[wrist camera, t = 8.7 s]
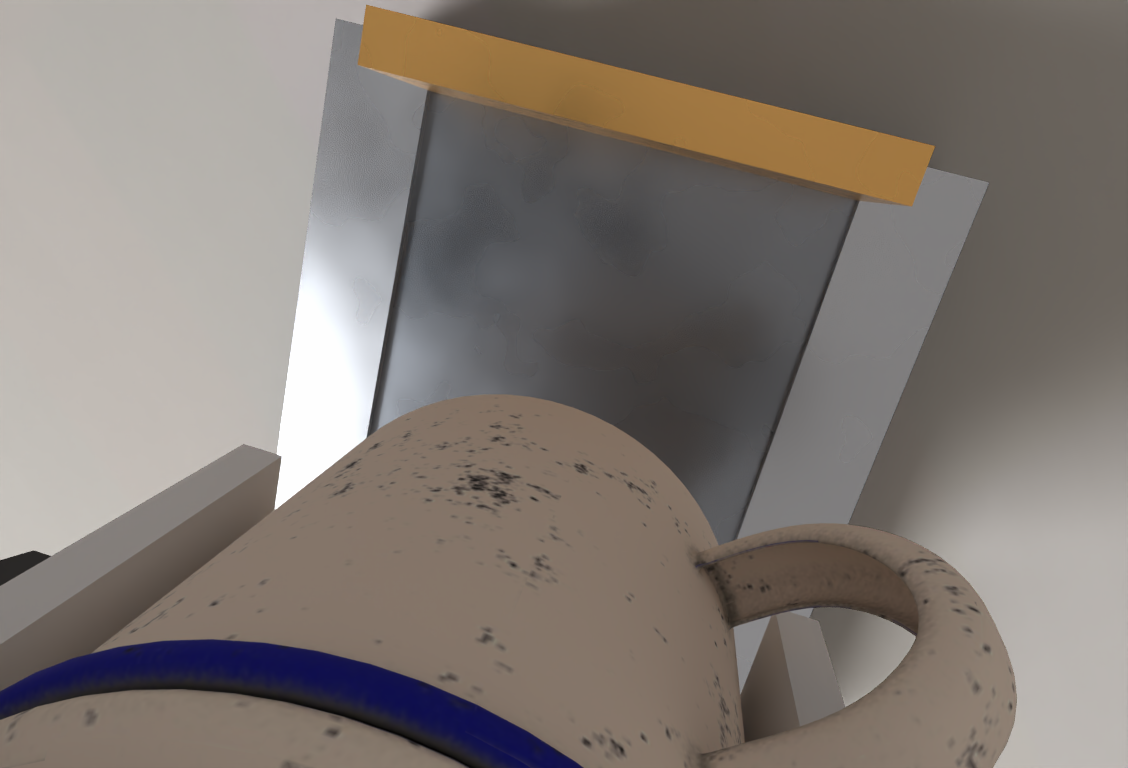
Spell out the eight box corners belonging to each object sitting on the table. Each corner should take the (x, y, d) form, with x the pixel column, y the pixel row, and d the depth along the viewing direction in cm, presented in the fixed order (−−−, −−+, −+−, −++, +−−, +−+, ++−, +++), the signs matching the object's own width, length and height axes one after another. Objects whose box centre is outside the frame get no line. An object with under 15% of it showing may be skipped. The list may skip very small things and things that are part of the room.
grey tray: (300, 598, 25) (161, 750, 18) (387, 43, 20) (234, -29, 13) (724, 734, 24) (741, 950, 17) (941, 183, 18) (1089, 184, 12)
